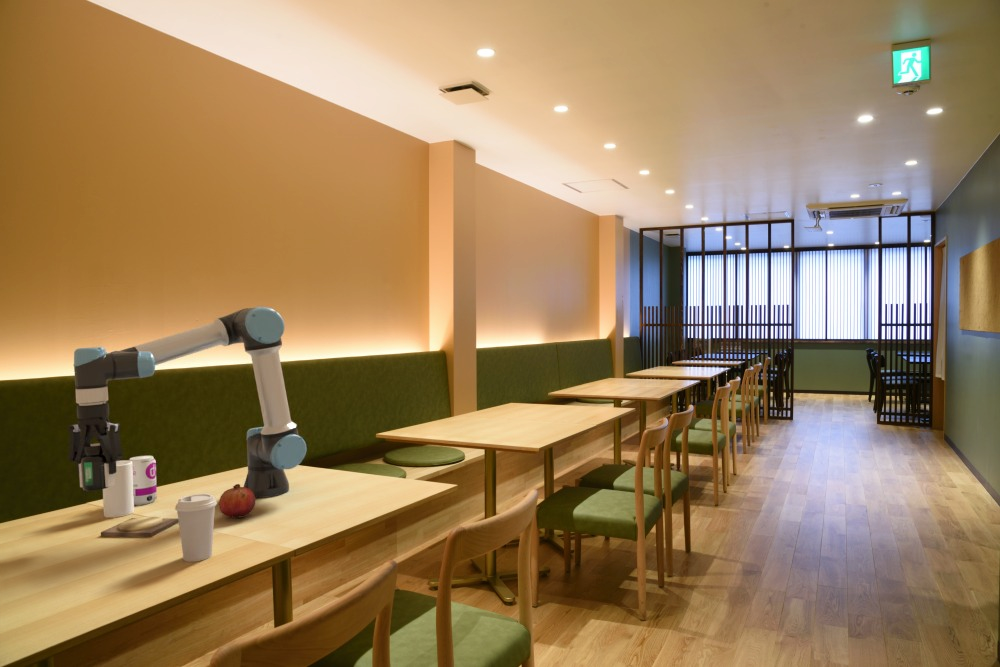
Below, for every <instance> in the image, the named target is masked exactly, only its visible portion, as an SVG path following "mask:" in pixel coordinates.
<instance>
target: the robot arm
mask: <svg viewBox="0 0 1000 667" xmlns="http://www.w3.org/2000/svg"><path fill="white" fill-rule="evenodd" d="M284 332H285V320H284V319H283V317H282V315H281V314H280V313H279V312H278V311H276V310H275V309H273V308H271V307H266V306H256V307H249V308H248V307H247V308H242V309H239V310H237V311H235V312H232V313H229V314H227V315H224V316H221V317H218V318H215V319H213V322H212V323H209V324H205V325H201V326H199V327H195V328H191V329H188V330H185V331H181V332H178V333H174V334H171V335H169V336H165V337H161V338H158V339H154V340H152V341H147V342H144V343H142V344H138V345H134V346H132V347H128V348H125V349H120V350H114V351H111V352H108V353H107V351H106V348H105V347H103V346H98V347H97V346H96V347H95V346H94V347H79V348H76V349H75V350H74V351H73V369H74V371H73V372H74V384H75V403H76V404H77V405H76V417H77V419H78V423H77V424H76V423H75V424H72V425H68V427H67V428H68V432H69V433H68V434H69V447H68V448H69V449H68V461H70V462H74V463H75V464H76V472H77V475H79V476H78V477H79V488H83V487H82V472H81V459H82V457H83V456H85V455H86V453H84V451H85V448H84V446H86V445H90V444H91V442H92V440H93V438H95V439H96V441H98V443H100V446H101V448H102V451H103V453H104V455H105V458H106V460H107V462H105V463H104V469H105V486H106V487H110V486H112V485H115V476H114V473H116V461H120V460H121V459H123V457H124V455H123V449H122V443H121V437H120V436H121V435H120V428H121V425H120V423H119V422H117V423H112V422H110V419H109V416H110V404H109V403H108V401H109V391H108V390H109V389H108V382H109V381H114V380H127V379H128V380H129V379H138V378H139V379H143V378H147V377H152V376H154V373H155V369H156V366H159V365H161V364H164V363H167V362H170V361H174V360H176V359H177V360H178V359H180V358H183V357H186V356H190V355H193V354H195V353H199V352H203V351H205V350H209V349H212V348H214V347H217V346H223V347H228V346H232V345H236V344H243V348H244V352H246V353H247V354H248V355H250V356H251V357H250V358H251V362H252V368H253V372H254V373H253V374H254V378H255V383H256V390H257V394H258V399H259V405H260V410H261V415H262V420H263V426H259V427H253V428H249V429H248V430H247V432H246V449H247V450H246V452H247V453H246V454H247V457H246V458H247V473H246V477H245V481H244V484H243V487H246V488H248V489H250V490H251V491H252V492H253V494H254V496H255V498H267V497H274V496H279V495H283V494H285V493H288V492H289V491H290V484H289V480H288V477H287V475H286V473H285V470H291V469H294V468H296V467H298V466H299V465H300V464H301V463H302V462H303V460H304V459H305V457H306V454H307V444H306V441H305V440H304V439H303V437H302V436H300V435H299V429H298V424H297V423H295V422H294V421H293V420H292V419H291V418H292V417H291V412H290V407H289V402H288V397H287V392H286V386H285V385H286V384H285V380H284V375H283V370H282V363H281V358H280V352H279V350H280V349H281V348H282V346H283V341H282V336H283V334H284Z"/></svg>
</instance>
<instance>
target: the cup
mask: <svg viewBox="0 0 1000 667" xmlns="http://www.w3.org/2000/svg"><path fill="white" fill-rule="evenodd" d="M129 460H130V459H128V460H117V461H116V473H114V476H115V485H112V486H110V487H108V488H105V489H102V500H103V501H102V504H103V508H102V509H103V517H104V518H120V517H124V516H129V515H131V514H134V512H135V505H134V496H133V466H132V461H129Z"/></svg>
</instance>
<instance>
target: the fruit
mask: <svg viewBox="0 0 1000 667" xmlns="http://www.w3.org/2000/svg"><path fill="white" fill-rule="evenodd" d="M218 501H219V502H218V507H219V510H220V511H219V512H220V513H221V514H222V515H223V516H225V517H228V518H233V519H234V518H235V519H236V518H238V519H239V518H243V517H246V516H249V514H251V513H252V512H253V510H254V509H255V507H256V497H255V496H254V494H253V492H252V491H251V490H250V489H248V488H246V487H244V486H241V484H239V483H236V484H235V485H233V486H232V488H229V489H228V488H227V490H225V491H224V492H223V493H221V495H220V497H219V500H218Z"/></svg>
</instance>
